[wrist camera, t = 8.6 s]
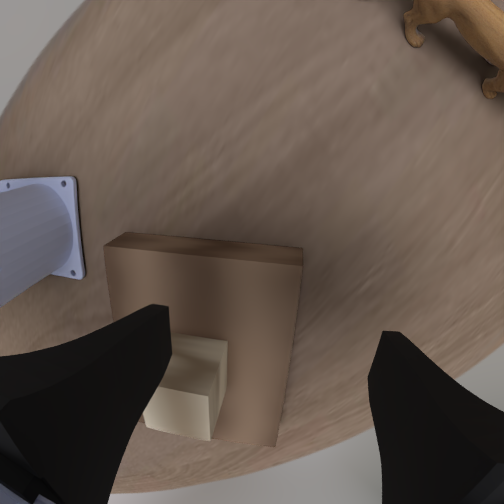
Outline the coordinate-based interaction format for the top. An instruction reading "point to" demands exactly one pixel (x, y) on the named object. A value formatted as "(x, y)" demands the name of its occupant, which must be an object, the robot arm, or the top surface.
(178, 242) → the walnut plinth
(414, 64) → the top surface
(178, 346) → the birch block
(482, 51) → the lion figurine
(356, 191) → the top surface
